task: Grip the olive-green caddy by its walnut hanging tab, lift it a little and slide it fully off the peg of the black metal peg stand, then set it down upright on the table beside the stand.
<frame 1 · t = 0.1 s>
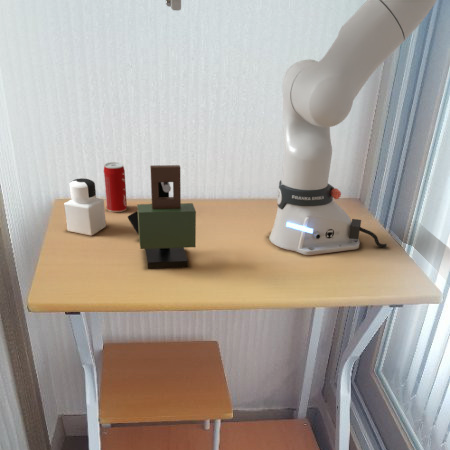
hand: (173, 8, 113), 48 cm above the table, tool pointing down, fingers open, 8 cm apart
soda can: (117, 210, 160), on the table
handheld gaming console: (155, 235, 147), on the table
peg stand: (164, 253, 138), on the table
medicine bottle: (87, 229, 148), on the table
caddy: (167, 243, 129), point 5 cm above the table, touching peg stand
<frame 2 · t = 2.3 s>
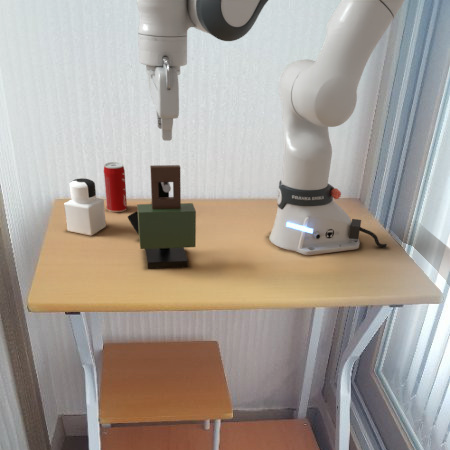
hand: (164, 133, 115), 28 cm above the table, tool pointing down, fingers open, 8 cm apart
nothing on the table moved.
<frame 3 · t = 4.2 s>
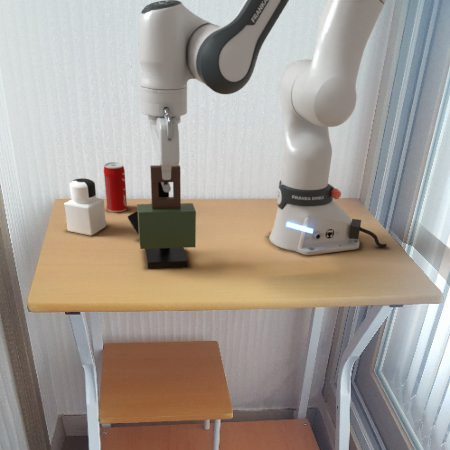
hand: (165, 176, 120), 20 cm above the table, tool pointing down, fingers closed on caddy
caddy: (167, 243, 129), point 5 cm above the table, touching gripper, peg stand
everything else where it was.
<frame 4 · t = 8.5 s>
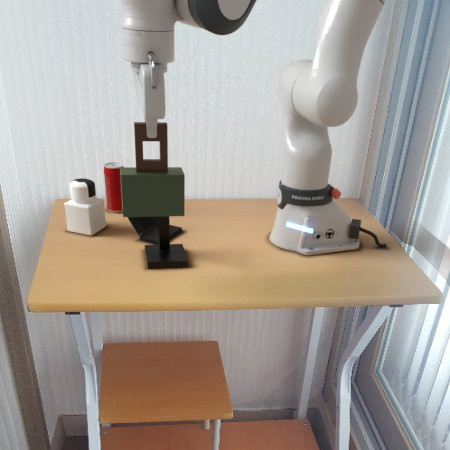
hand: (151, 135, 108), 29 cm above the table, tool pointing down, fingers closed on caddy
caddy: (153, 212, 117), point 15 cm above the table, touching gripper
everything else where it was.
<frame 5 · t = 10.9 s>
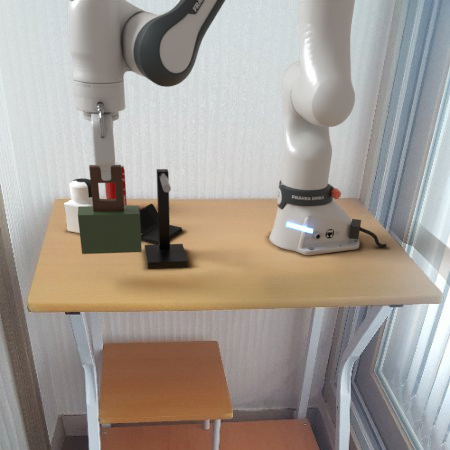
hand: (106, 177, 112), 22 cm above the table, tool pointing down, fingers closed on caddy
caddy: (111, 248, 121), point 7 cm above the table, touching gripper
everything else where it was.
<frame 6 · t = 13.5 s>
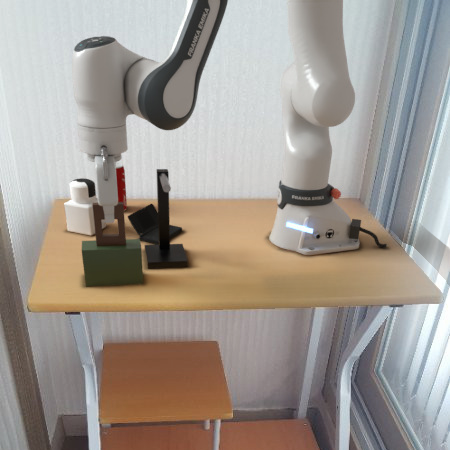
hand: (109, 213, 117), 15 cm above the table, tool pointing down, fingers open, 8 cm apart
caddy: (114, 280, 125), on the table
everything else where it was.
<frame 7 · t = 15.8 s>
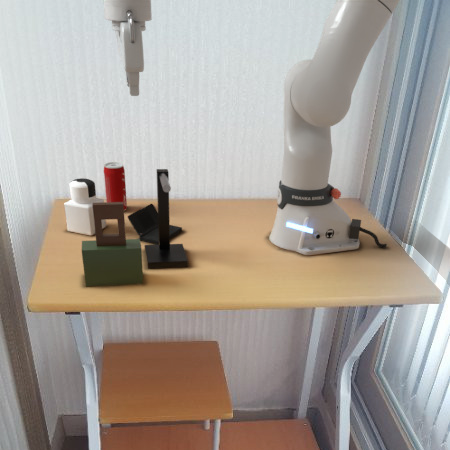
hand: (133, 90, 118), 34 cm above the table, tool pointing down, fingers open, 8 cm apart
nothing on the table moved.
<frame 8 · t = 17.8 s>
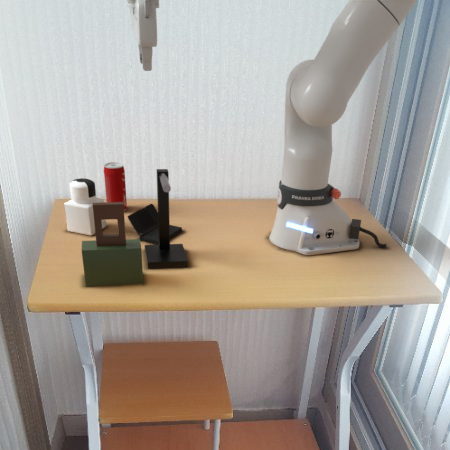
hand: (145, 66, 123), 37 cm above the table, tool pointing down, fingers open, 8 cm apart
nothing on the table moved.
at the end: caddy inside the target area (0.1 cm from its centre), on the table; caddy tilted 0°; the gripper is holding nothing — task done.
